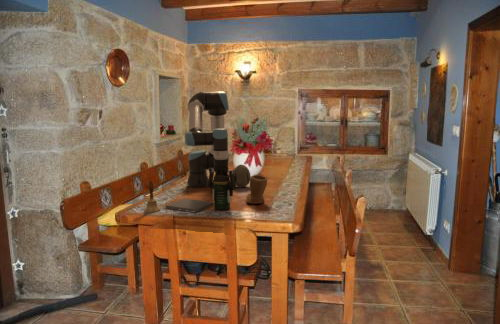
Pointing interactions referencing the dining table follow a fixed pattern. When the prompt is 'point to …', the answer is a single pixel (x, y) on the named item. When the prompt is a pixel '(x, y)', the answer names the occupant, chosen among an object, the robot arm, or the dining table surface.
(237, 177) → the decorative egg
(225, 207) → the coffee jar
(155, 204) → the hand bell
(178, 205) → the plate
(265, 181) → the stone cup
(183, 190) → the dining table surface
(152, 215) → the dining table surface
